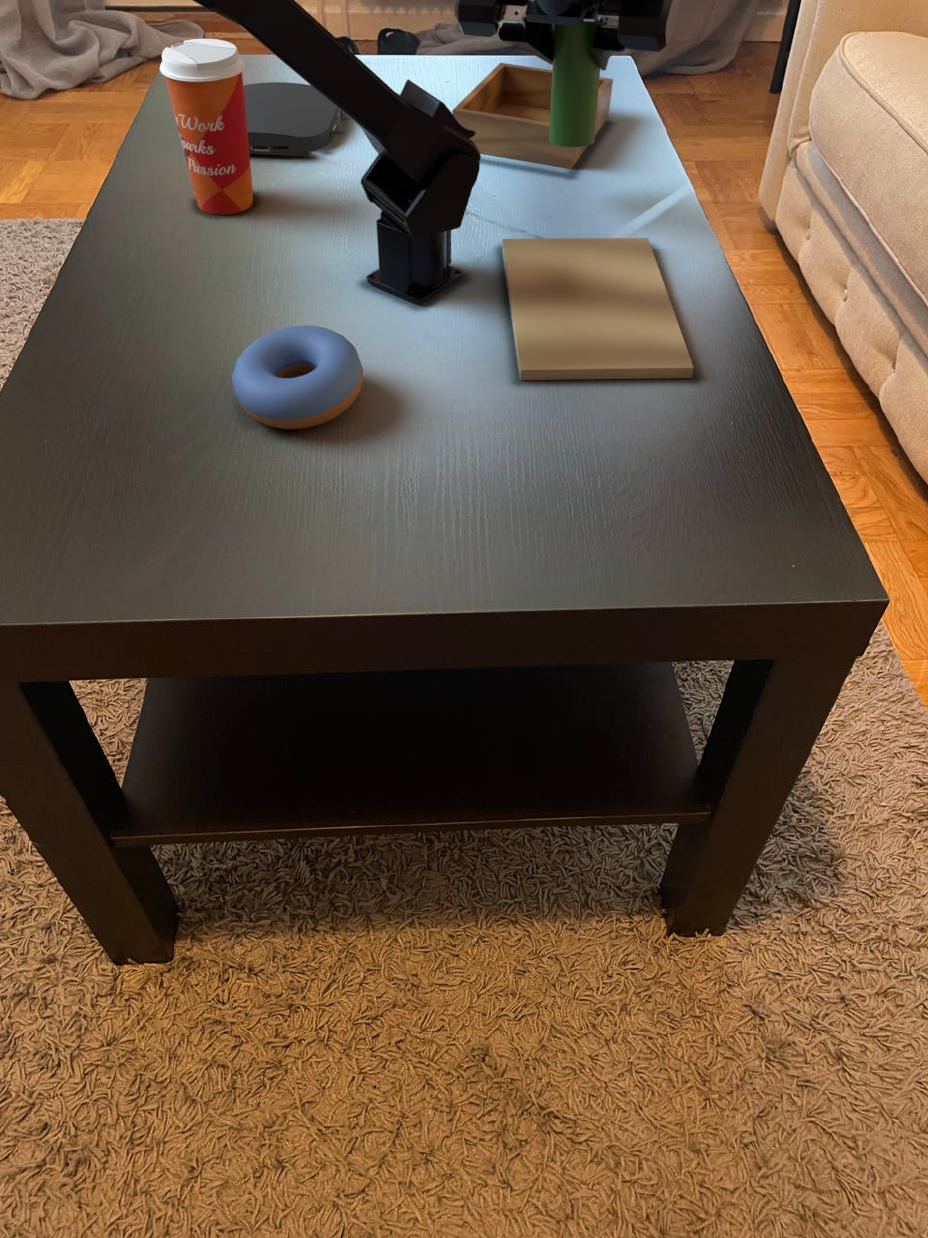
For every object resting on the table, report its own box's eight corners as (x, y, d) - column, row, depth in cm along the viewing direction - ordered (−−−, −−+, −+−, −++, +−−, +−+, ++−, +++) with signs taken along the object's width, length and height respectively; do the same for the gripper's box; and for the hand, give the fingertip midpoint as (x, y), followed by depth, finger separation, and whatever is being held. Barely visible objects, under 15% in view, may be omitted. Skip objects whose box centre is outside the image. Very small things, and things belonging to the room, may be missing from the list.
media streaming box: (228, 103, 116) (224, 76, 114) (349, 109, 116) (347, 82, 114) (195, 154, 107) (190, 125, 104) (327, 161, 106) (324, 132, 104)
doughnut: (231, 442, 72) (220, 390, 69) (243, 366, 79) (233, 316, 76) (364, 438, 73) (360, 386, 70) (365, 363, 80) (361, 313, 76)
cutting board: (691, 378, 79) (694, 367, 78) (519, 380, 78) (520, 369, 78) (646, 247, 94) (648, 237, 93) (501, 248, 93) (502, 238, 92)
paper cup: (171, 205, 98) (138, 53, 88) (224, 179, 103) (199, 30, 92) (227, 227, 95) (200, 71, 85) (280, 199, 100) (261, 47, 89)
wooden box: (570, 176, 104) (574, 129, 101) (452, 155, 107) (452, 109, 104) (607, 122, 114) (613, 78, 111) (498, 105, 117) (500, 62, 114)
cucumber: (577, 150, 92) (589, -26, 82) (539, 141, 94) (547, -32, 84) (603, 139, 94) (618, -33, 85) (565, 130, 96) (576, -39, 87)
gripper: (696, -161, 73) (703, -13, 88) (466, -166, 78) (510, -26, 93) (657, -19, 73) (670, 104, 88) (429, -34, 78) (479, 84, 93)
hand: (581, 62), depth 91 cm, fingers closed on cucumber, 4 cm apart
